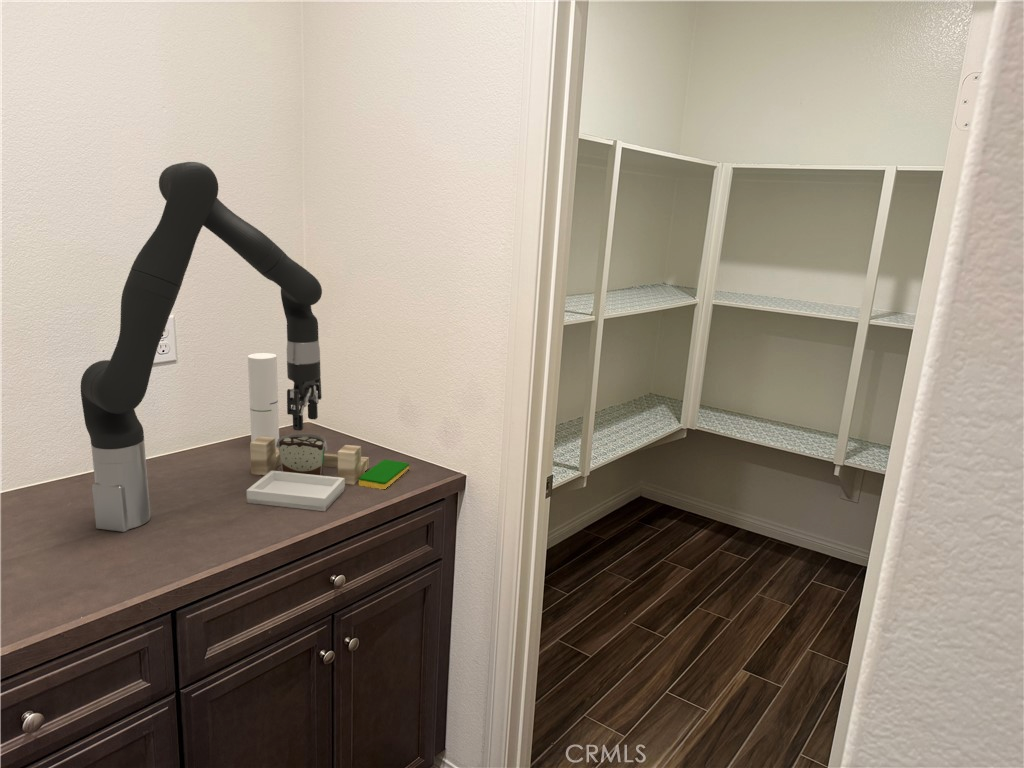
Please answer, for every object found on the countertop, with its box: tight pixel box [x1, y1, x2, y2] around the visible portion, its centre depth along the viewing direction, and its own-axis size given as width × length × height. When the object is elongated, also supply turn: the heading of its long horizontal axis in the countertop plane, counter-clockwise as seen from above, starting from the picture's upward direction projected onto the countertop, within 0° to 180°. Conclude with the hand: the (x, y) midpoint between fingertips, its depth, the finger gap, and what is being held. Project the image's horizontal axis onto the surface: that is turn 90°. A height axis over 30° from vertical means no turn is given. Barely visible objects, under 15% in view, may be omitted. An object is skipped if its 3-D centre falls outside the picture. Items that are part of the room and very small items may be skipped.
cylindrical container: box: [247, 352, 280, 448], centre depth 186 cm, size 7×7×25 cm
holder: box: [249, 437, 370, 486], centre depth 172 cm, size 11×26×8 cm, turn 83°
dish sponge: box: [358, 459, 410, 490], centre depth 172 cm, size 7×14×2 cm, turn 164°
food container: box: [276, 433, 328, 476], centre depth 169 cm, size 12×6×10 cm, turn 84°
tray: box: [246, 470, 346, 512], centre depth 158 cm, size 12×18×3 cm, turn 83°
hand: (305, 424), depth 167 cm, fingers open, 8 cm apart
